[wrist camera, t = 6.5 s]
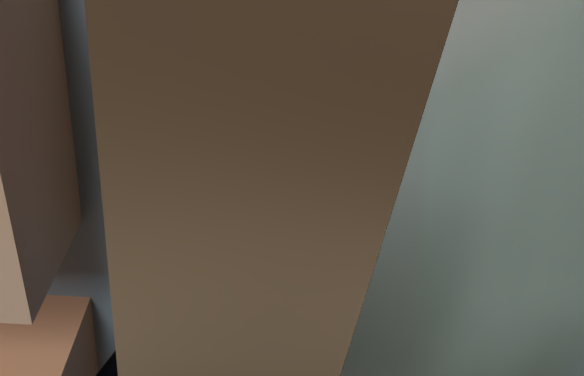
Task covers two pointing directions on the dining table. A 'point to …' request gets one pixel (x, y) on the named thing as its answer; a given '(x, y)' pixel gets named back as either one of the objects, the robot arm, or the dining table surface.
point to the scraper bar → (252, 172)
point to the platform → (85, 187)
